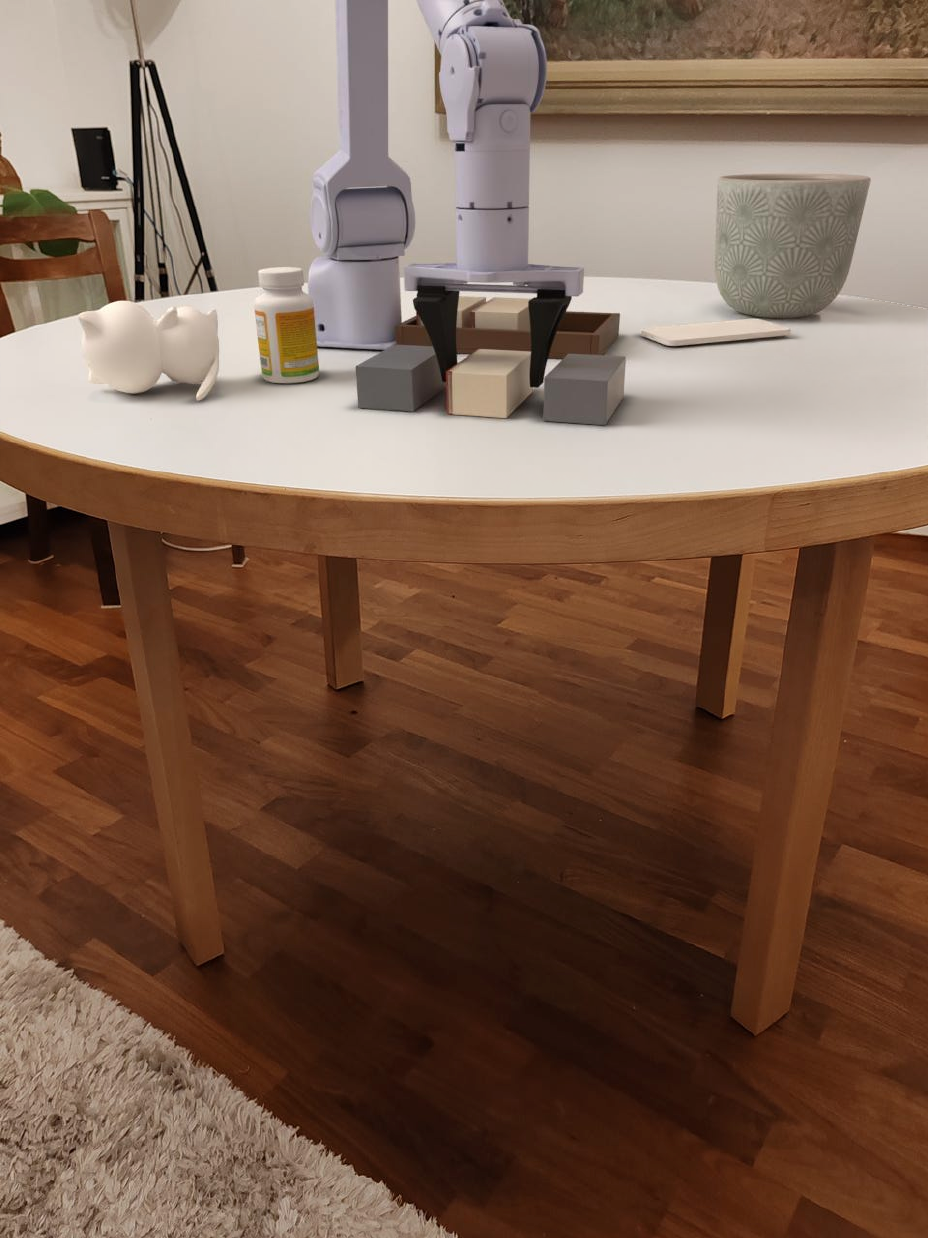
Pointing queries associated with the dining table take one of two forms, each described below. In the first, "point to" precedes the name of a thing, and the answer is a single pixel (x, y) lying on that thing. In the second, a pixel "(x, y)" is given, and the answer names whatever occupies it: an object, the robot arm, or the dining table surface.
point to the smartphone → (714, 332)
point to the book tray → (528, 335)
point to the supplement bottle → (286, 327)
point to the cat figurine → (150, 347)
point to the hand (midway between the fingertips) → (492, 382)
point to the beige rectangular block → (488, 383)
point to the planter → (786, 240)
